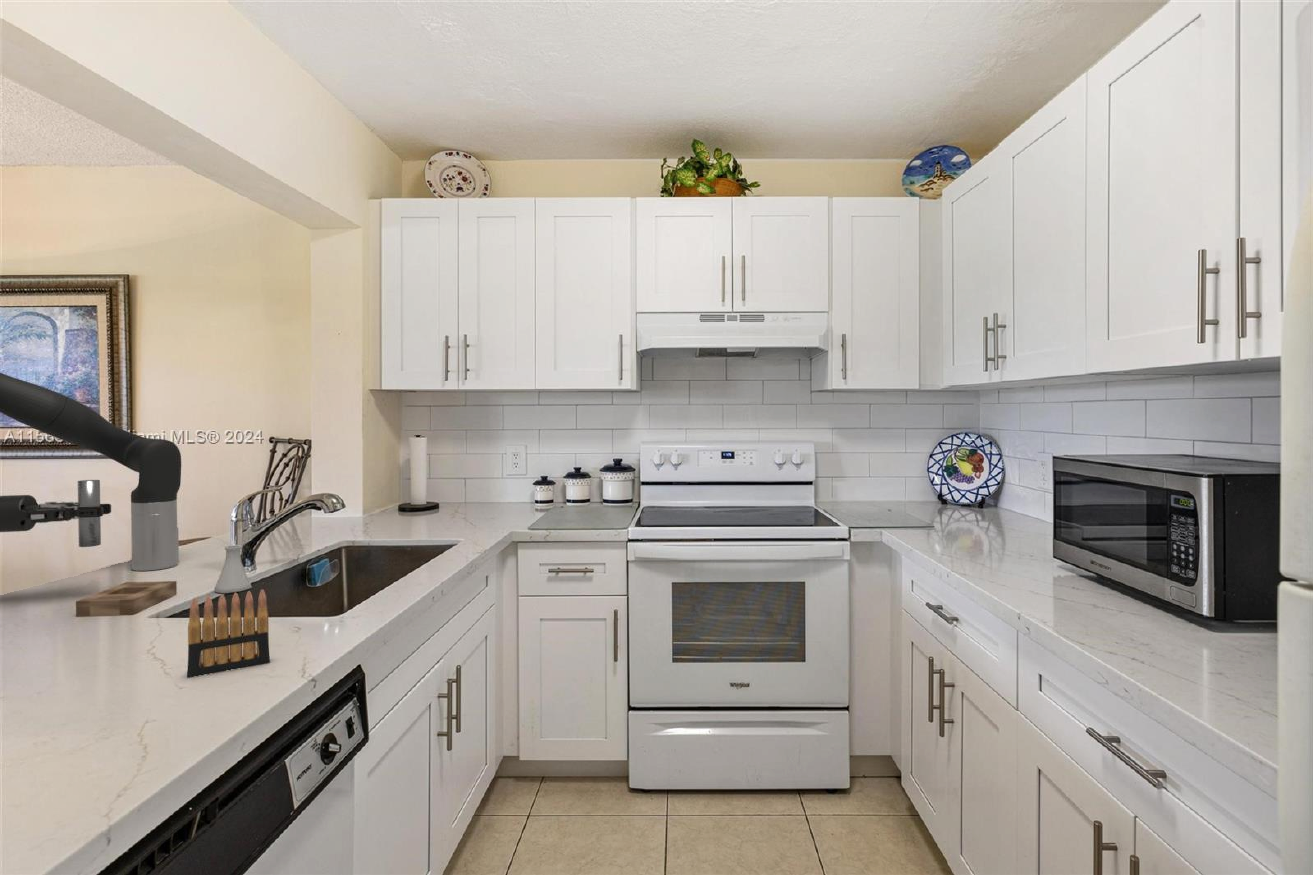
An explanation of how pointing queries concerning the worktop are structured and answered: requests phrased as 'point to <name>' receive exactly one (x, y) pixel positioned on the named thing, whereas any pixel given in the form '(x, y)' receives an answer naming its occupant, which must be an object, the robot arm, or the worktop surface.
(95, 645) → the worktop surface
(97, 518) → the peg
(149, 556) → the robot arm
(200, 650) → the ammunition clip
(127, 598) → the hole block
